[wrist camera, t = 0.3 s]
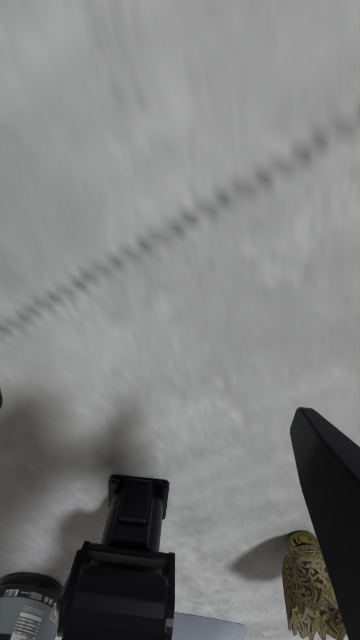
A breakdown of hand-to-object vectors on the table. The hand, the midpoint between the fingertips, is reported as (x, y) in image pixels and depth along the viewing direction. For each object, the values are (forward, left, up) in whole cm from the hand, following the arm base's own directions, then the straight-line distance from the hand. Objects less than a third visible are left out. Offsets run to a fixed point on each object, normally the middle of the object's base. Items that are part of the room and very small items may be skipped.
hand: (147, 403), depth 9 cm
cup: (-32, -18, -14) cm, 39 cm away
